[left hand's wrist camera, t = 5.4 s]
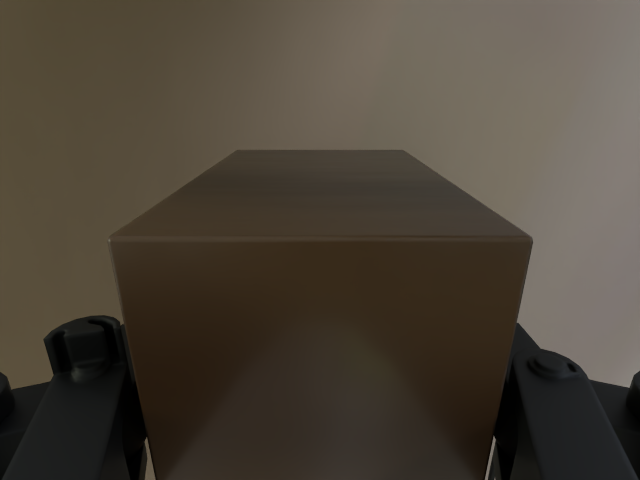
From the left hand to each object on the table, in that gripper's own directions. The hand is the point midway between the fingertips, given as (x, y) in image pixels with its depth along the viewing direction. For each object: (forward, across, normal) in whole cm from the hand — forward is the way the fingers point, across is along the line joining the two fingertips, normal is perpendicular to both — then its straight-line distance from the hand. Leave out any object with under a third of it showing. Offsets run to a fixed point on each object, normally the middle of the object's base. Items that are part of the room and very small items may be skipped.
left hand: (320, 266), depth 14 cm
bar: (+1, 0, -10) cm, 10 cm away
